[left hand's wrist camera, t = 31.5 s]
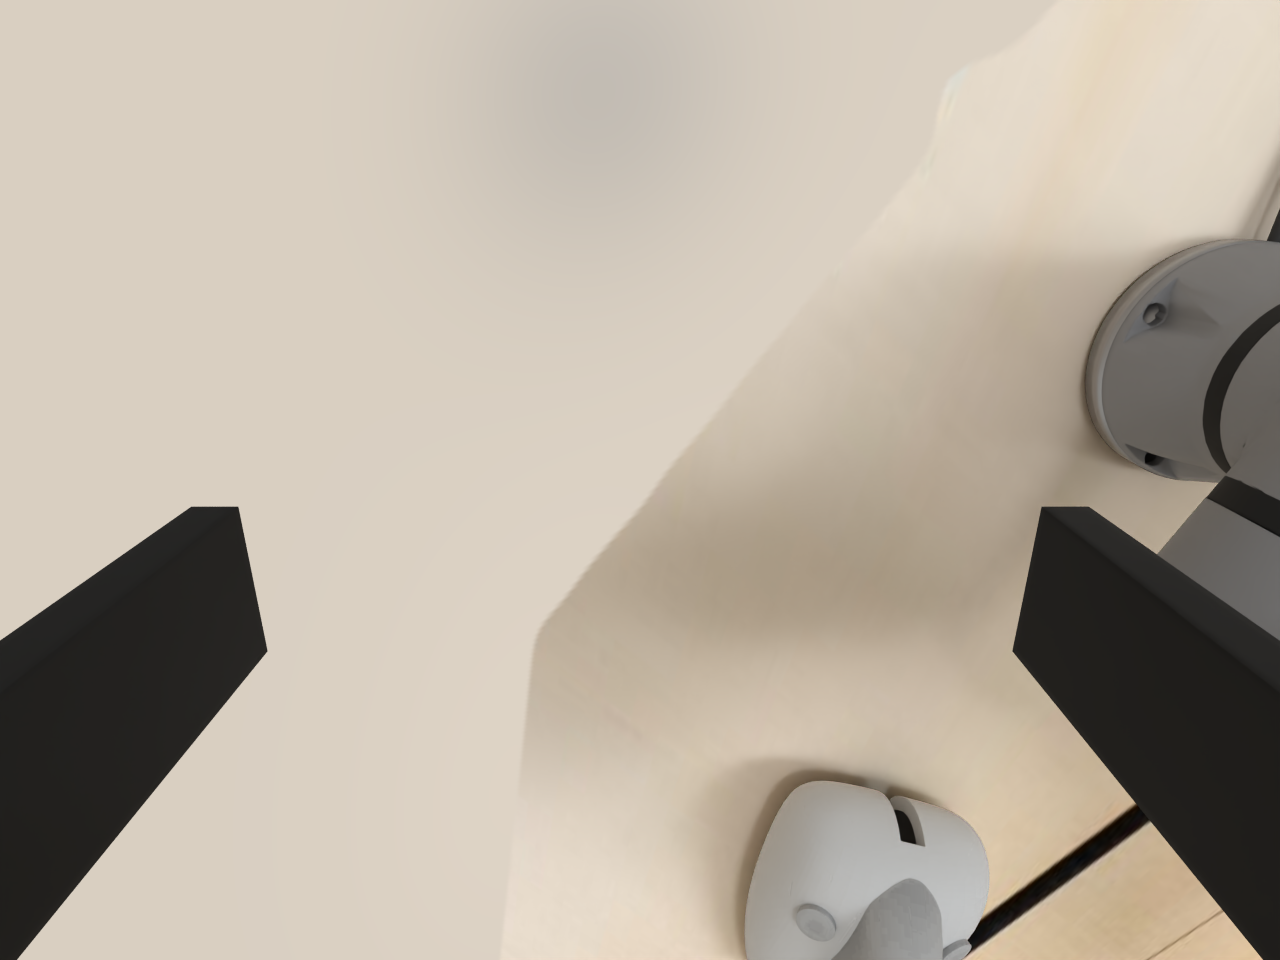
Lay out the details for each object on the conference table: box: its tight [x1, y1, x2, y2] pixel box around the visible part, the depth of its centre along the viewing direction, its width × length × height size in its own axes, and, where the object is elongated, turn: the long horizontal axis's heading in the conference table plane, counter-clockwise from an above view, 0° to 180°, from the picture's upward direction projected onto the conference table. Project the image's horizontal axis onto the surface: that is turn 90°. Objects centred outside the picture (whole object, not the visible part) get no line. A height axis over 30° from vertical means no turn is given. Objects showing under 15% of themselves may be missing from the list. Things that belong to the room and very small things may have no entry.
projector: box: [745, 781, 989, 960], centre depth 58 cm, size 22×23×15 cm
